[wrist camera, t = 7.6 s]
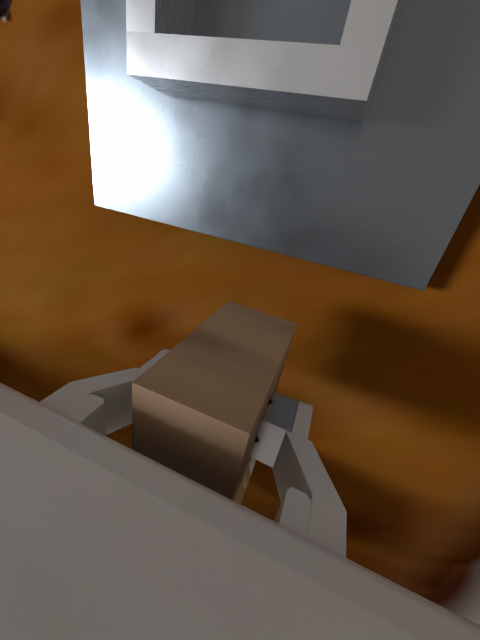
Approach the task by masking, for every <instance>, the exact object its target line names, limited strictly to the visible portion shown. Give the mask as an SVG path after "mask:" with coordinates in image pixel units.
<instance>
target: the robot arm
mask: <svg viewBox="0 0 480 640" xmlns="http://www.w3.org/2000/svg"><path fill="white" fill-rule="evenodd" d="M169 351H170V350H168V349H163V350H162V351H161V352H159V353H158V354H157V355H156V356H154V357H153V358H152V359H151V360H149V361H148V362H147V363H146V364H144V365H143V366H142V367H140V368H139V369H138V368H136V367H135V368H131V369H126V370H122V371H117V372H113V373H108V374H104V375H99V376H95V377H90V378H86V379H81V380H77V381H72V382H69V383H68V384H66V385H65V386H63V387H62V388H60V389H59V390H57V391H56V392H54V393H52V394H51V395H49V396H48V397H46V398H45V399H43V400H42V401H40V402H38V401H36V400H34V399H32V398H30V397H28V396H26V395H24V394H22V393H20V392H18V391H16V390H14V389H12V388H10V387H8V386H6V385H4V384H2V383H0V640H480V626H479V625H477V624H475V623H473V622H471V621H470V620H468V619H466V618H464V617H462V616H460V615H458V614H456V613H454V612H452V611H450V610H448V609H446V608H444V607H442V606H440V605H438V604H436V603H434V602H432V601H430V600H428V599H426V598H424V597H422V596H420V595H418V594H416V593H414V592H412V591H410V590H408V589H406V588H405V587H403V586H401V585H399V584H397V583H395V582H393V581H391V580H389V579H387V578H385V577H383V576H381V575H379V574H377V573H375V572H373V571H371V570H369V569H367V568H365V567H363V566H361V565H359V564H357V563H355V562H353V561H351V560H349V559H347V558H346V523H347V511H346V509H345V507H344V505H343V503H342V501H341V499H340V497H339V495H338V493H337V491H336V489H335V487H334V485H333V483H332V481H331V479H330V477H329V475H328V473H327V471H326V469H325V467H324V465H323V463H322V461H321V459H320V457H319V455H318V453H317V451H316V449H315V447H314V445H313V443H312V442H311V441H309V440H308V434H309V428H310V423H311V417H312V411H313V406H312V405H310V404H307V403H304V402H302V401H298V400H295V399H293V398H290V397H287V396H285V395H282V394H280V393H277V392H274V391H273V392H272V394H271V397H270V400H269V403H268V405H267V407H266V409H265V412H264V414H263V417H262V419H261V422H260V426H259V429H258V432H257V438H256V440H255V443H254V446H253V449H252V452H251V456H250V457H252V458H254V459H256V460H258V461H260V462H262V463H264V464H266V465H268V466H270V467H272V468H273V469H272V470H273V474H274V478H275V482H276V486H277V490H278V494H279V498H280V503H281V505H280V507H279V509H278V512H277V514H276V516H275V518H274V521H272V520H270V519H268V518H266V517H265V516H263V515H261V514H259V513H257V512H255V511H253V510H251V509H249V508H247V507H245V506H243V505H241V504H239V503H237V502H235V501H233V500H231V499H229V498H227V497H225V496H223V495H221V494H219V493H217V492H215V491H213V490H211V489H209V488H207V487H205V486H203V485H201V484H199V483H197V482H195V481H194V480H192V479H190V478H188V477H186V476H184V475H182V474H180V473H178V472H176V471H174V470H172V469H170V468H168V467H166V466H164V465H162V464H160V463H158V462H156V461H154V460H152V459H150V458H148V457H146V456H144V455H142V454H140V453H138V452H136V451H134V450H132V449H130V448H128V447H126V446H124V445H122V444H120V443H119V442H117V441H115V440H113V439H111V438H109V437H107V436H106V435H108V434H110V433H112V432H114V431H116V430H119V429H121V428H123V427H125V426H127V425H130V424H132V382H133V381H134V380H135V379H137V378H138V377H139V376H140V375H141V374H143V373H144V372H145V371H146V370H147V369H148V368H150V367H151V366H152V365H153V364H154V363H156V362H157V361H158V360H159V359H160V358H162V357H163V356H164V355H165V354H166V353H168V352H169Z"/></svg>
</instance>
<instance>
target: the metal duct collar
mask: <svg viewBox="0 0 480 640" xmlns="http://www.w3.org/2000/svg"><path fill="white" fill-rule="evenodd" d="M81 14H82V28H83V43H84V58H85V72H86V87H87V102H88V116H89V131H90V145H91V160H92V175H93V189H94V204H95V205H96V206H100V207H104V208H108V209H112V210H116V211H120V212H123V213H127V214H131V215H135V216H139V217H143V218H146V219H150V220H154V221H158V222H162V223H166V224H169V225H173V226H177V227H181V228H185V229H189V230H192V231H196V232H200V233H204V234H208V235H212V236H216V237H219V238H223V239H227V240H231V241H235V242H239V243H242V244H246V245H250V246H254V247H258V248H262V249H265V250H269V251H273V252H277V253H281V254H285V255H289V256H292V257H296V258H300V259H304V260H308V261H312V262H315V263H319V264H323V265H327V266H331V267H335V268H338V269H342V270H346V271H350V272H354V273H358V274H361V275H365V276H369V277H373V278H377V279H381V280H385V281H388V282H392V283H396V284H400V285H404V286H408V287H411V288H415V289H419V290H423V291H424V290H425V288H426V286H427V284H428V282H429V280H430V278H431V276H432V275H433V273H434V271H435V269H436V267H437V265H438V263H439V261H440V259H441V257H442V255H443V253H444V252H445V250H446V248H447V246H448V244H449V242H450V240H451V238H452V236H453V234H454V232H455V230H456V229H457V227H458V225H459V223H460V221H461V219H462V217H463V215H464V213H465V211H466V209H467V207H468V206H469V204H470V202H471V200H472V198H473V196H474V194H475V192H476V190H477V188H478V186H479V184H480V0H81Z"/></svg>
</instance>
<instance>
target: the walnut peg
mask: <svg viewBox="0 0 480 640" xmlns="http://www.w3.org/2000/svg"><path fill="white" fill-rule="evenodd" d="M296 325H297V323H295V322H292V321H289V320H286V319H283V318H279V317H276V316H273V315H270V314H267V313H264V312H261V311H258V310H254V309H251V308H248V307H245V306H242V305H239V304H236V303H233V302H229V301H228V302H227V303H226V304H225V305H224V306H222V307H221V308H220V309H219V310H218V311H216V312H215V313H214V314H213V315H212V316H210V317H209V318H208V319H207V320H206V321H205V322H203V323H202V324H201V325H200V326H199V327H197V328H196V329H195V330H194V331H193V332H191V333H190V334H189V335H188V336H187V337H185V338H184V339H183V340H182V341H181V342H179V343H178V344H177V345H176V346H175V347H174V348H172V349H171V350H170V351H169V352H168V353H166V354H165V355H164V356H163V357H162V358H160V359H159V360H158V361H157V362H156V363H154V364H153V365H152V366H151V367H150V368H148V369H147V370H146V371H145V372H144V373H143V374H141V375H140V376H139V377H138V378H137V379H135V380H134V381H133V382H132V450H134V451H136V452H138V453H140V454H142V455H144V456H146V457H148V458H150V459H152V460H154V461H156V462H158V463H160V464H162V465H164V466H166V467H168V468H170V469H172V470H174V471H176V472H178V473H180V474H182V475H184V476H186V477H188V478H190V479H192V480H194V481H195V482H197V483H199V484H201V485H203V486H205V487H207V488H209V489H211V490H213V491H215V492H217V493H219V494H221V495H223V496H225V497H227V498H229V499H231V500H233V501H235V502H236V499H237V496H238V494H239V491H240V489H241V486H242V483H243V481H244V478H245V475H246V473H247V470H248V467H249V465H250V462H251V460H252V457H250V456H251V452H252V449H253V446H254V443H255V440H256V438H257V432H258V429H259V426H260V422H261V419H262V417H263V414H264V412H265V409H266V407H267V405H268V403H269V400H270V397H271V394H272V392H273V391H274V392H276V390H277V386H278V383H279V380H280V377H281V374H282V370H283V367H284V364H285V361H286V358H287V354H288V351H289V348H290V345H291V342H292V338H293V335H294V332H295V329H296Z"/></svg>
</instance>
